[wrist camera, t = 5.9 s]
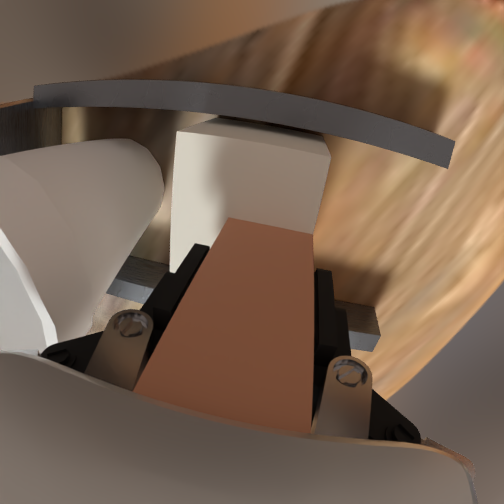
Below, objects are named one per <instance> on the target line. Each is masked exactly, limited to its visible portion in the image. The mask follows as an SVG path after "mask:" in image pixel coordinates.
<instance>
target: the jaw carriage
mask: <svg viewBox="0 0 504 504" xmlns="http://www.w3.org/2000/svg"><path fill="white" fill-rule="evenodd" d="M330 161H331V155H330V153H329V151H328V148H327V146H326V143H325V141H324V139H323V136H319V135H314V134H310V133H305V132H300V131H295V130H290V129H284V128H279V127H273V126H268V125H262V124H256V123H249V122H243V121H236V120H229V119H221V118H214V119H211V120H208V121H205V122H202V123H199V124H196V125H193V126H190V127H187V128H184V129H181V130H179V131H177V135H176V146H175V159H174V173H173V189H172V208H171V234H170V272H173V273H175V272H176V271H177V269H178V268H179V266H180V264H181V263H182V261H183V260H184V259H185V257H186V256H187V254H188V253H189V251H190V250H191V248H192V247H193V245H194V244H195V243H197V244H202V245H207V246H210V250H209V252H208V254H207V255H206V257H205V259H204V261H203V262H202V264H201V266H200V268H199V269H198V271H197V273H196V275H195V277H194V278H193V280H192V282H191V284H190V286H189V287H188V289H187V291H186V293H185V295H184V296H183V298H182V300H181V302H180V304H179V305H178V307H177V309H176V311H175V313H174V315H173V316H172V318H171V320H170V322H169V324H168V326H167V328H166V329H165V331H164V333H163V335H162V337H161V339H160V341H159V342H158V344H157V346H156V348H155V350H154V352H153V354H152V356H151V358H150V359H149V361H148V363H147V365H146V367H145V369H144V371H143V373H142V375H141V377H140V379H139V381H138V382H137V384H136V386H135V388H134V390H133V392H135V393H138V394H141V395H144V396H147V397H150V398H153V399H156V400H159V401H163V402H166V403H169V404H173V405H176V406H180V407H183V408H187V409H190V410H194V411H198V412H202V413H206V414H210V415H214V416H218V417H222V418H227V419H231V420H236V421H240V422H245V423H250V424H255V425H260V426H266V427H271V428H277V429H283V430H289V431H296V432H303V433H310V434H311V419H312V397H313V366H314V257H313V232H314V228H315V224H316V220H317V216H318V212H319V208H320V204H321V200H322V195H323V191H324V187H325V183H326V178H327V174H328V170H329V165H330Z"/></svg>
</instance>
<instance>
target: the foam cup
mask: <svg viewBox="0 0 504 504" xmlns="http://www.w3.org/2000/svg"><path fill="white" fill-rule="evenodd" d="M164 189H165V187H164V182H163V178H162V173H161V168H160V166H159V164H158V163H157V161H156V160H155V159H154V157H153V156H152V154H151V153H150V151H149V150H148V149H147V148H145V147H144V146H142V145H140V144H139V143H137V142H135V141H133V140H132V139H114V138H112V139H101V140H92V141H84V142H77V143H70V144H63V145H56V146H50V147H44V148H38V149H33V150H27V151H22V152H17V153H12V154H8V155H3V156H0V350H35V349H38V350H39V353H42V352H43V351H44V350H45V349H46V348H47V347H49V346H50V345H53V344H56V343H60V342H63V341H67V340H71V339H75V338H79V337H83V336H85V335H86V333H87V332H88V331H89V329H90V328H91V327H92V316H93V314H94V312H95V310H96V309H97V307H98V305H99V303H100V302H101V300H102V298H103V297H104V295H105V293H106V292H107V290H108V288H109V286H110V285H111V283H112V282H113V280H114V278H115V277H116V275H117V273H118V272H119V270H120V268H121V267H122V265H123V264H124V262H125V260H126V259H127V257H128V256H129V254H130V253H131V251H132V250H133V248H134V246H135V245H136V243H137V242H138V240H139V239H140V237H141V236H142V234H143V233H144V231H145V230H146V228H147V227H148V225H149V224H150V222H151V221H152V219H153V218H154V216H155V215H156V213H157V212H158V210H159V208H160V207H161V203H162V198H163V193H164Z"/></svg>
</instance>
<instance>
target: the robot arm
mask: <svg viewBox="0 0 504 504" xmlns="http://www.w3.org/2000/svg"><path fill="white" fill-rule="evenodd" d="M209 250H210V246H207V245H202V244H197V243H195V244H194V245H193V247H192V248H191V250H190V251H189V253H188V254H187V256H186V257H185V259H184V260H183V261H182V263H181V264H180V266H179V268H178V269H177V271H176V272H175V273H173V272H166V273H165V274H164V276H163V277H162V279H161V280H160V281H159V283H158V284H157V286H156V287H155V289H154V290H153V292H152V293H151V295H150V296H149V297H148V299H147V300H146V302H145V303H144V305H143V306H142V308H141V309H140V310H135V309H128V310H123V311H120V312H117V313H116V314H115V315H113V316H112V317H111V319H110V320H109V322H108V324H107V326H106V328H105V330H104V331H102V332H98V333H94V334H90V335H87V336H83V337H79V338H75V339H71V340H67V341H63V342H60V343H56V344H53V345H50V346H49V347H47V348H46V349H45V350H44V351H43V352H42V353H39V350H38V349H35V350H0V504H478V500H477V496H476V491H475V488H474V484H473V482H474V479H475V467H474V465H473V463H472V462H471V461H470V460H469V459H468V458H466V457H465V456H463V455H461V454H459V453H457V452H454V451H453V450H451V449H449V448H447V447H445V446H443V445H441V444H439V443H437V442H435V441H433V440H431V439H430V438H428V437H426V438H425V439H422V438H421V437H420V433H419V431H418V429H417V428H416V427H415V426H414V424H413V423H411V422H410V421H409V420H408V419H407V418H405V417H404V416H403V415H402V414H401V413H400V412H398V411H397V410H396V409H395V408H394V407H393V406H391V405H390V404H389V403H388V402H387V401H386V400H384V399H383V398H382V397H381V396H380V395H379V394H377V393H376V392H375V391H374V390H373V389H372V372H371V371H370V369H369V367H368V366H367V365H366V364H365V363H364V362H363V361H361V360H360V359H358V358H355V357H352V356H351V348H350V339H349V330H348V321H347V313H346V309H344V308H339V307H335V301H334V290H333V280H332V272H331V271H328V270H323V269H318V268H317V269H316V271H315V272H314V366H313V397H312V419H311V434H310V433H303V432H296V431H289V430H283V429H277V428H271V427H266V426H260V425H255V424H250V423H245V422H240V421H236V420H231V419H227V418H222V417H218V416H214V415H210V414H206V413H202V412H198V411H194V410H190V409H187V408H183V407H180V406H176V405H173V404H169V403H166V402H163V401H159V400H156V399H153V398H150V397H147V396H144V395H141V394H138V393H135V392H133V390H134V388H135V386H136V384H137V382H138V381H139V379H140V377H141V375H142V373H143V371H144V369H145V367H146V365H147V363H148V361H149V359H150V358H151V356H152V354H153V352H154V350H155V348H156V346H157V344H158V342H159V341H160V339H161V337H162V335H163V333H164V331H165V329H166V328H167V326H168V324H169V322H170V320H171V318H172V316H173V315H174V313H175V311H176V309H177V307H178V305H179V304H180V302H181V300H182V298H183V296H184V295H185V293H186V291H187V289H188V287H189V286H190V284H191V282H192V280H193V278H194V277H195V275H196V273H197V271H198V269H199V268H200V266H201V264H202V262H203V261H204V259H205V257H206V255H207V254H208V252H209Z"/></svg>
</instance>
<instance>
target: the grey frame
mask: <svg viewBox="0 0 504 504" xmlns="http://www.w3.org/2000/svg"><path fill="white" fill-rule="evenodd" d="M62 107H133V108H152V109H167V110H179V111H190V112H200V113H209V114H217V115H225V116H232V117H239V118H246V119H253V120H259V121H265V122H271V123H277V124H282V125H287V126H293V127H298V128H303V129H308V130H312V131H317V132H321V133H326V134H330V135H335V136H339V137H343V138H347V139H351V140H355V141H359V142H363V143H366V144H370V145H374V146H377V147H381V148H384V149H388V150H391V151H395V152H398V153H401V154H405V155H408V156H411V157H414V158H417V159H420V160H423V161H426V162H429V163H432V164H435V165H438V166H441V167H444V168H447V169H448V167H449V163H450V160H451V156H452V152H453V148H454V145H455V141H453V140H451V139H448V138H446V137H443V136H441V135H438V134H436V133H433V132H431V131H428V130H425V129H422V128H419V127H416V126H413V125H410V124H407V123H404V122H401V121H398V120H395V119H392V118H388V117H385V116H382V115H378V114H375V113H371V112H367V111H364V110H360V109H356V108H352V107H348V106H344V105H340V104H336V103H332V102H328V101H323V100H318V99H314V98H309V97H304V96H299V95H294V94H288V93H282V92H276V91H270V90H264V89H257V88H250V87H242V86H234V85H225V84H216V83H205V82H192V81H175V80H144V79H121V80H91V81H76V82H62V83H53V84H45V85H38V86H34V98H30V99H24V100H19V101H14V102H9V103H5V104H0V156H3V155H8V154H12V153H17V152H22V151H27V150H33V149H38V148H44V147H50V146H56V145H61V113H62ZM166 272H170V265H167V264H162V263H158V262H154V261H150V260H145V259H141V258H137V257H133V256H128V257H127V259H126V260H125V262H124V264H123V265H122V267H121V268H120V270H119V272H118V273H117V275H116V277H115V278H114V280H113V282H112V283H111V285H110V286H109V288H108V290H107V292H106V293H107V294H111V295H114V296H117V297H121V298H124V299H128V300H131V301H135V302H138V303H142V304H144V303H145V302H146V300H147V299H148V297H149V296H150V295H151V293H152V292H153V290H154V289H155V287H156V286H157V284H158V283H159V281H160V280H161V279H162V277H163V276H164V274H165V273H166ZM334 301H335V307H339V308H344V309H346V313H347V321H348V330H349V339H350V348H351V349H356V350H363V351H370V352H372V351H373V350H374V348H375V346H376V344H377V342H378V340H379V338H380V336H381V335H380V330H379V326H378V321H377V317H376V313H375V309H374V307H369V306H364V305H359V304H353V303H348V302H343V301H337V300H334Z"/></svg>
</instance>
